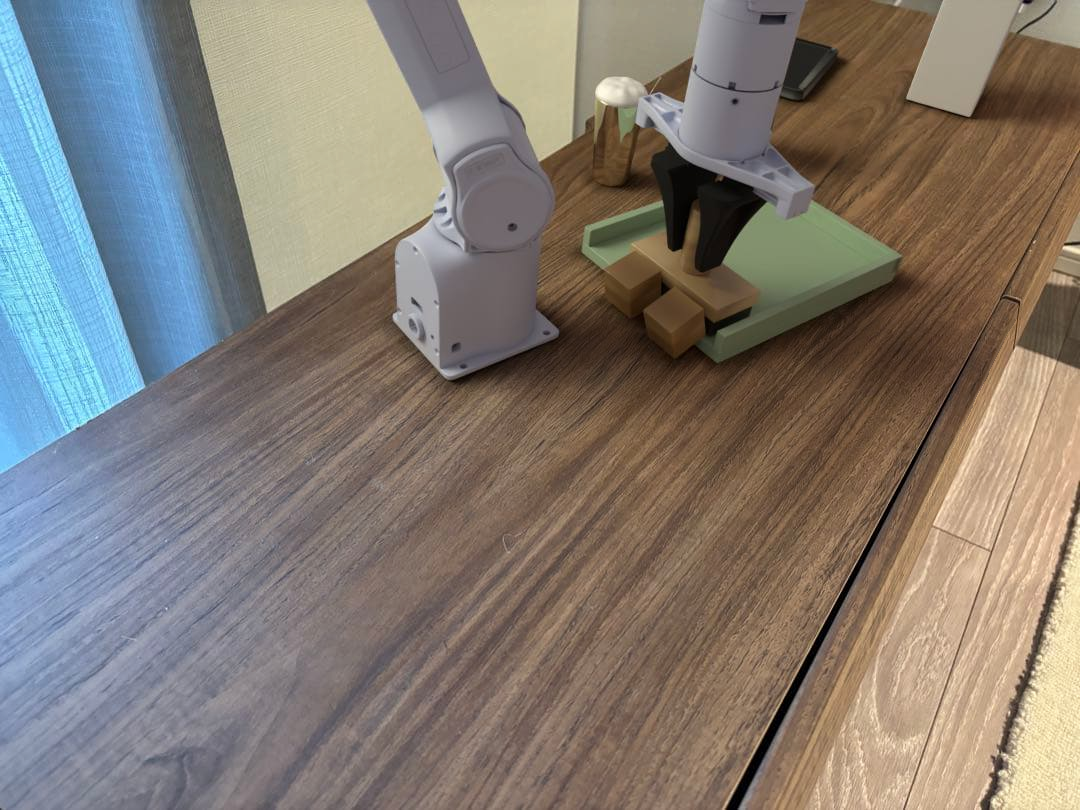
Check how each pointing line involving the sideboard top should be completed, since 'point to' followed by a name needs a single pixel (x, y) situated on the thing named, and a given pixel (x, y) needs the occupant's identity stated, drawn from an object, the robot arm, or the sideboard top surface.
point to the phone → (806, 68)
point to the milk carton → (962, 53)
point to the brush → (700, 277)
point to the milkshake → (616, 128)
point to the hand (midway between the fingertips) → (694, 256)
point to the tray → (769, 266)
